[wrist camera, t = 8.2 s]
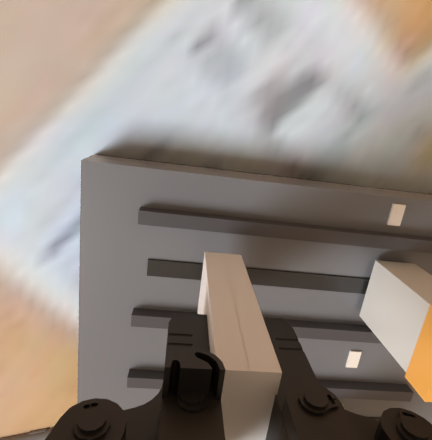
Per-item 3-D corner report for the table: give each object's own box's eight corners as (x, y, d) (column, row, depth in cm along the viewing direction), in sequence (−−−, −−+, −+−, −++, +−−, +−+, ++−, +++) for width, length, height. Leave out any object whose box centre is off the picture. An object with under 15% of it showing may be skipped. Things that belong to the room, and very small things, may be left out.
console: (94, 154, 16) (76, 162, 14) (485, 200, 18) (531, 215, 16) (87, 422, 21) (73, 464, 18) (398, 434, 23) (423, 473, 20)
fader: (374, 257, 16) (455, 323, 11) (417, 262, 16) (516, 328, 11) (356, 317, 17) (425, 401, 12) (398, 320, 17) (481, 404, 12)
